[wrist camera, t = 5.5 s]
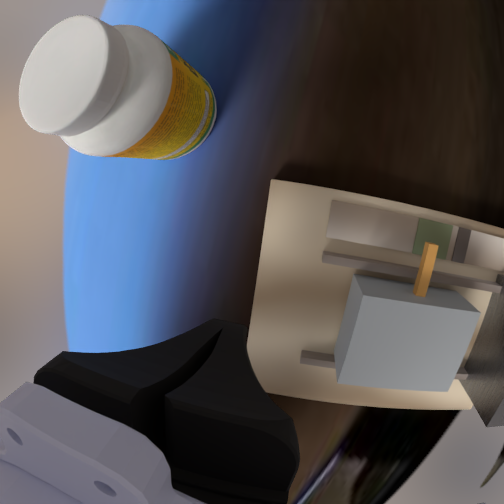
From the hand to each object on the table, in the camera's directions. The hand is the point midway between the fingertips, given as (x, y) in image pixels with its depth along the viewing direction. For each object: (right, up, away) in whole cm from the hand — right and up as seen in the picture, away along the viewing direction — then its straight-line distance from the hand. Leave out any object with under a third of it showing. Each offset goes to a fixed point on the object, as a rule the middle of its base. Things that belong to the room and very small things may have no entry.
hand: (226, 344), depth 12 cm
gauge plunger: (+9, +1, +3) cm, 9 cm away
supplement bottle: (-3, +11, +5) cm, 13 cm away
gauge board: (+9, 0, +5) cm, 10 cm away
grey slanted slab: (+15, -1, +3) cm, 16 cm away
